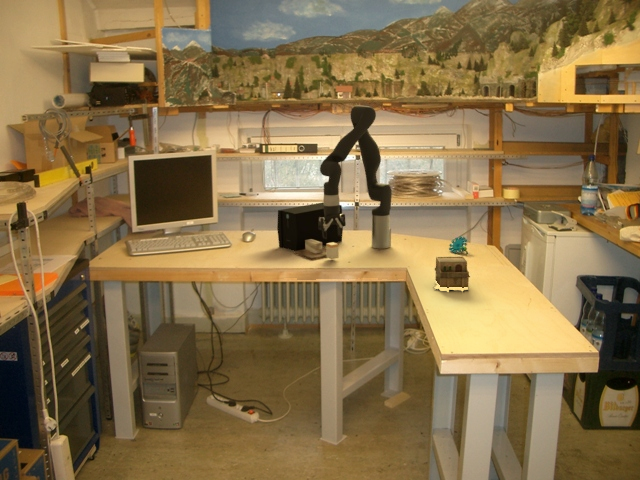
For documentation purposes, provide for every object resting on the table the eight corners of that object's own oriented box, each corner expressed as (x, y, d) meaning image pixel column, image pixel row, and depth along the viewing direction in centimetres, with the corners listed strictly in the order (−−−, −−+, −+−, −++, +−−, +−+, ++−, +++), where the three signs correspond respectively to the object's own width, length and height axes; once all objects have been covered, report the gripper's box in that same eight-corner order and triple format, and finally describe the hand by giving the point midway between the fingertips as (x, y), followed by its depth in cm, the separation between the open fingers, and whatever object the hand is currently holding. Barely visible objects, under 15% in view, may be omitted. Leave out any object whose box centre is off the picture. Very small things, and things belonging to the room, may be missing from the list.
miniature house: (429, 281, 260) (429, 255, 257) (462, 281, 260) (463, 255, 257) (435, 293, 245) (436, 265, 243) (470, 292, 245) (471, 265, 242)
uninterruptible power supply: (277, 247, 322) (276, 209, 317) (325, 236, 344) (324, 201, 339) (297, 252, 310) (296, 214, 305) (345, 241, 332) (345, 205, 327)
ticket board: (320, 248, 317) (320, 237, 315) (338, 255, 304) (338, 242, 302) (294, 253, 308) (294, 241, 307) (311, 260, 295) (311, 247, 294)
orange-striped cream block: (333, 255, 297) (333, 242, 296) (338, 257, 294) (338, 244, 292) (326, 257, 295) (326, 243, 293) (331, 259, 291) (331, 245, 290)
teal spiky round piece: (444, 247, 309) (458, 232, 309) (450, 254, 312) (463, 239, 312) (457, 255, 299) (471, 240, 299) (463, 262, 302) (476, 247, 302)
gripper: (339, 200, 295) (339, 233, 299) (314, 204, 287) (315, 237, 291) (348, 202, 289) (349, 236, 293) (323, 207, 281) (324, 240, 285)
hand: (332, 236), depth 292 cm, fingers open, 8 cm apart
